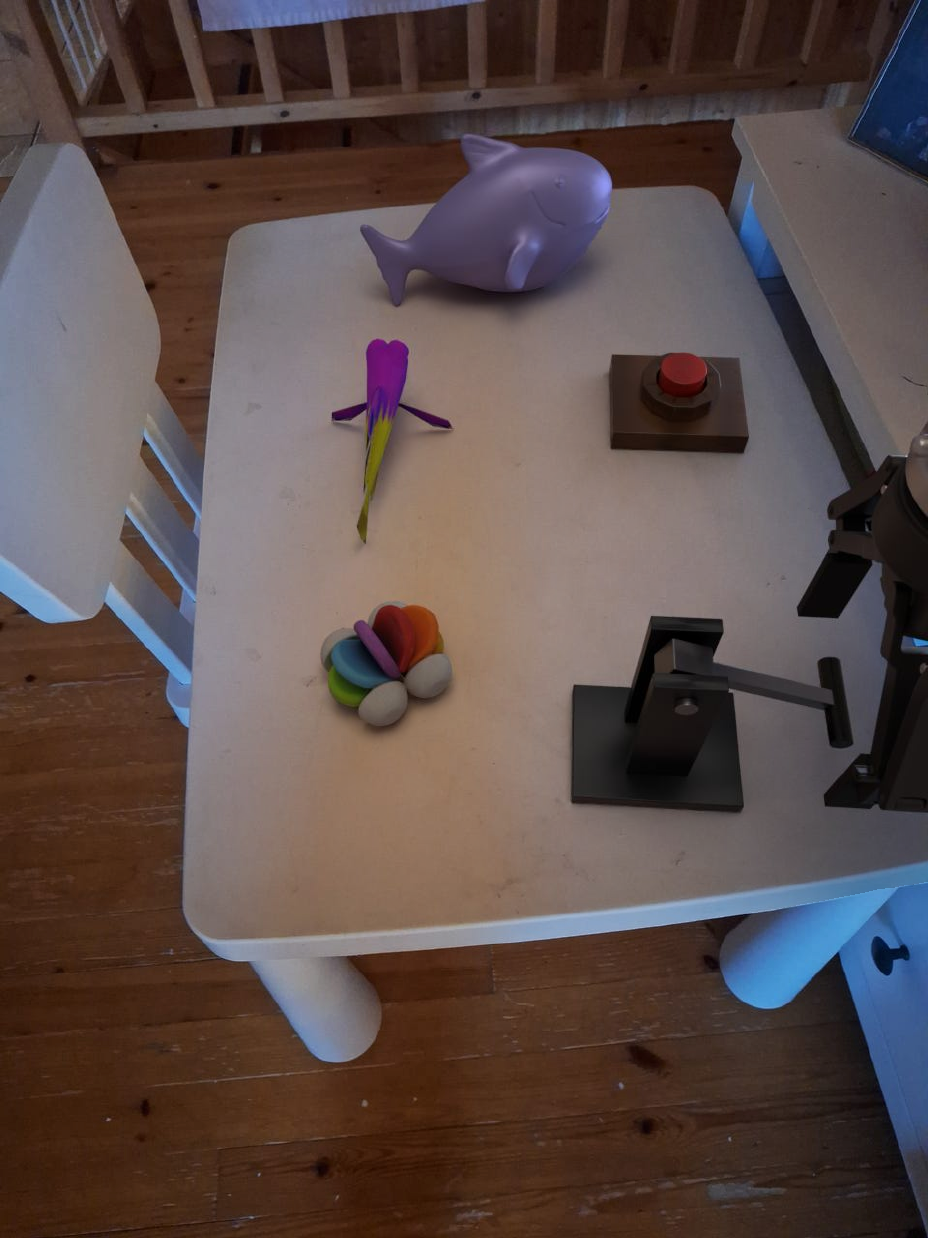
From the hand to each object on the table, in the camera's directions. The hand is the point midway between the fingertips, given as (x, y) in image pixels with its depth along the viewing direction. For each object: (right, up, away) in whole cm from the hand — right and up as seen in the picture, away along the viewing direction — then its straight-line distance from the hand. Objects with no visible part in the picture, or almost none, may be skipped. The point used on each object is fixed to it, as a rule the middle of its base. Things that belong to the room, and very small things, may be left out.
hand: (830, 702), depth 59 cm
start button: (-4, +27, +23) cm, 36 cm away
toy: (-31, +19, +23) cm, 43 cm away
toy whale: (-21, +40, +36) cm, 58 cm away
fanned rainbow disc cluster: (-30, +1, +12) cm, 32 cm away
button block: (-4, +25, +26) cm, 36 cm away
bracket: (-10, -4, +8) cm, 14 cm away
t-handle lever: (-6, +1, -1) cm, 6 cm away
